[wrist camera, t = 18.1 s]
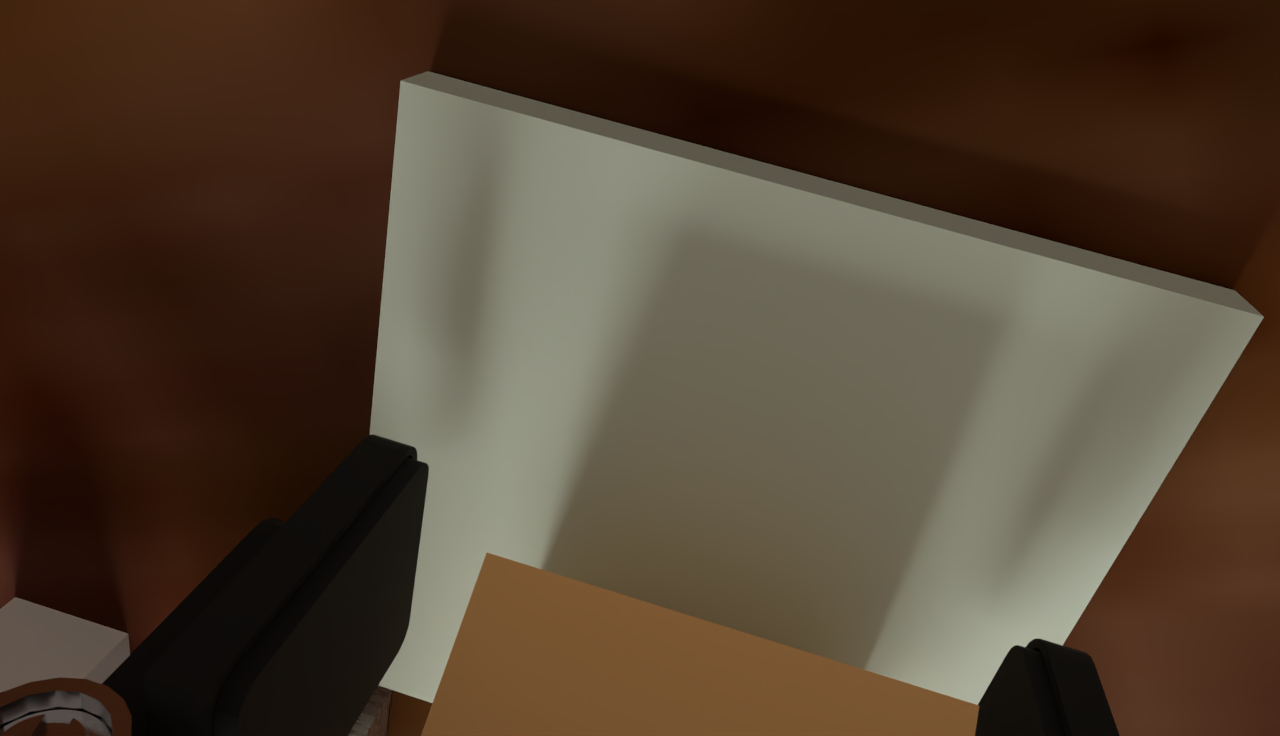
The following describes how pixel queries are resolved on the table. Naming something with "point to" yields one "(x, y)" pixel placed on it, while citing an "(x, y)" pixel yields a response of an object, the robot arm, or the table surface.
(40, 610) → the push rod
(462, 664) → the plug block
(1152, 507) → the table surface
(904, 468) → the mat
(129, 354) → the table surface
